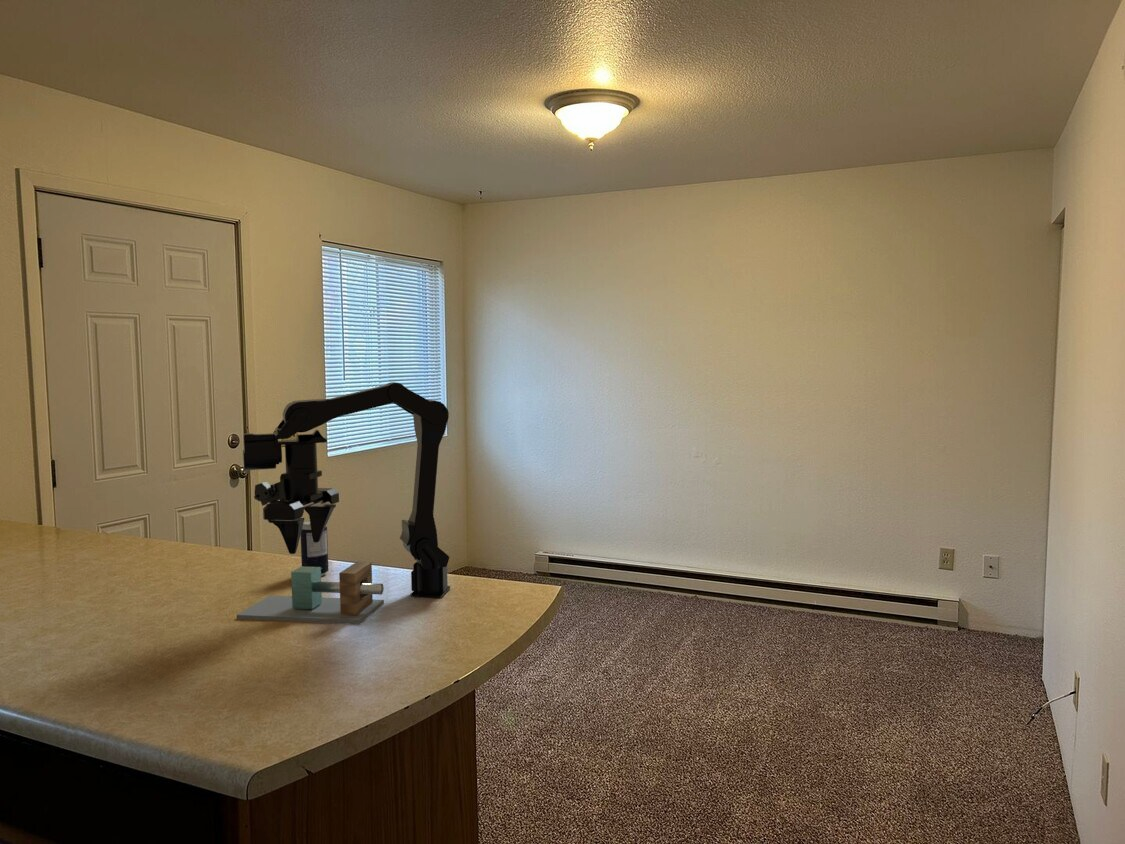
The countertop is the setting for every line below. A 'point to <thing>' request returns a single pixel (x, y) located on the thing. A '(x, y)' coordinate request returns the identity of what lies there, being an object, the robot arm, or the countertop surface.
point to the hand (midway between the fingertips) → (304, 547)
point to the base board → (304, 611)
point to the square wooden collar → (354, 588)
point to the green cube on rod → (319, 587)
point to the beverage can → (314, 549)
